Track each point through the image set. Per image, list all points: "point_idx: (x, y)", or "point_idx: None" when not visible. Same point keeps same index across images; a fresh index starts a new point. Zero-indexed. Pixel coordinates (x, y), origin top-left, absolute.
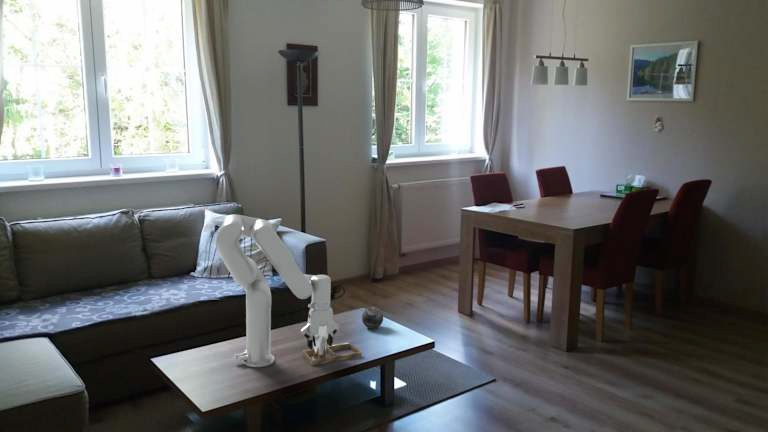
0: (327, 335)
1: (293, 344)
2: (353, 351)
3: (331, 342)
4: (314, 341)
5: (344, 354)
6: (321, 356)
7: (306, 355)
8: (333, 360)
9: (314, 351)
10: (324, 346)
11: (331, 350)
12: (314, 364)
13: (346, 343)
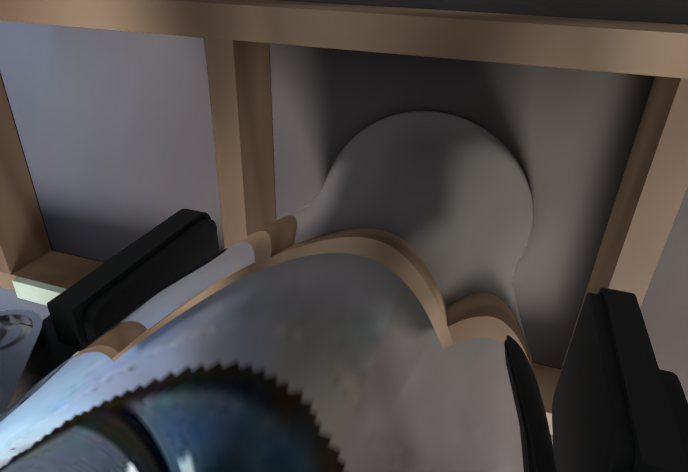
0: (86, 345)
1: None
2: (20, 157)
3: (147, 239)
4: (542, 405)
5: (97, 23)
6: (438, 140)
7: (645, 291)
8: (297, 2)
9: (513, 271)
10: (332, 199)
11: (226, 236)
12: (649, 23)
13: (32, 289)
